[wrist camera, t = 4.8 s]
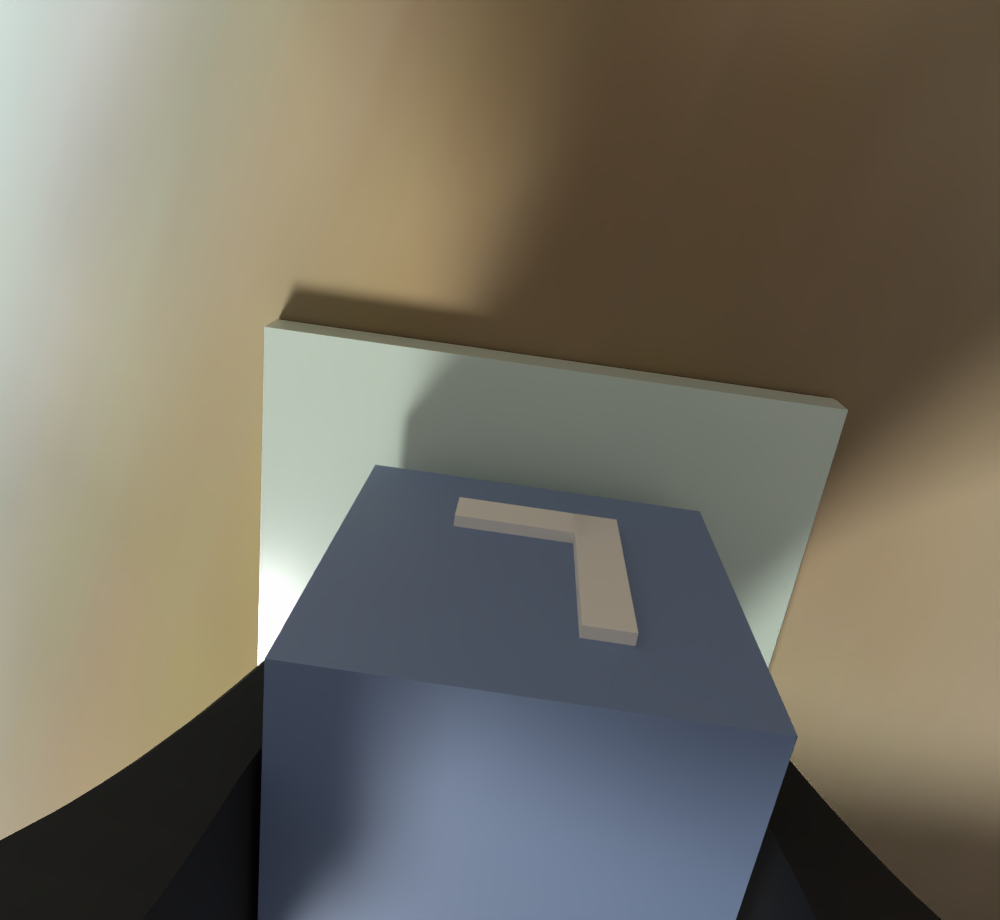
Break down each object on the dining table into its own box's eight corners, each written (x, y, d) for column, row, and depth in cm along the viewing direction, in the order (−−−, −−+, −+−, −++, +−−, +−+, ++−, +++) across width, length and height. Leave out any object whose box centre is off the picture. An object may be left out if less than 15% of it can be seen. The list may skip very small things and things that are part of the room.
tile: (706, 822, 16) (712, 847, 15) (265, 758, 16) (255, 780, 15) (834, 398, 12) (847, 410, 12) (277, 319, 12) (264, 326, 12)
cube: (636, 767, 14) (682, 1080, 9) (355, 726, 14) (254, 1017, 9) (702, 502, 12) (802, 722, 7) (376, 454, 12) (265, 644, 7)
